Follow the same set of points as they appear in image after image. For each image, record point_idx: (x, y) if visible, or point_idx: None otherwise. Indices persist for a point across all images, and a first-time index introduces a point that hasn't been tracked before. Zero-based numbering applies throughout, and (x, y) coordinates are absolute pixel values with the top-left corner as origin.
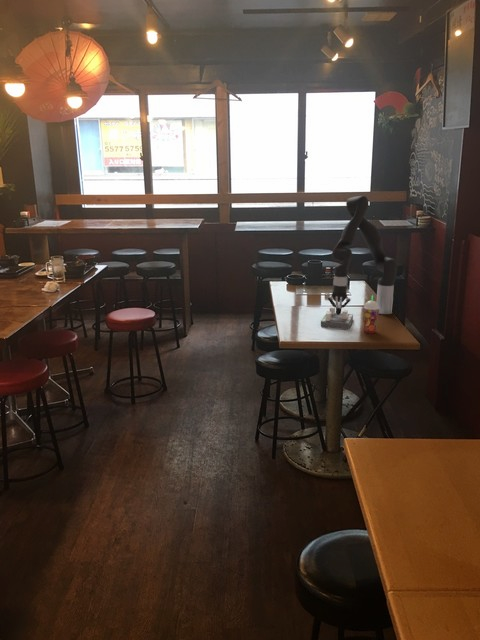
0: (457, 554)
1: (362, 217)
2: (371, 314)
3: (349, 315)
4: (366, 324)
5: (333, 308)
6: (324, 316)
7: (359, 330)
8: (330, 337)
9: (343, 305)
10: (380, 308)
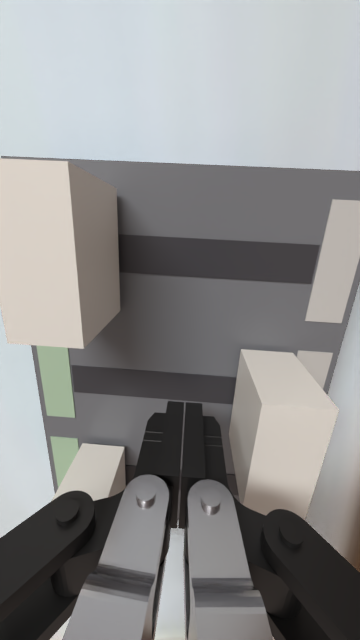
0: None
1: None
2: None
3: (325, 252)
4: None
5: (77, 346)
6: (38, 372)
7: (357, 493)
8: (175, 608)
9: (283, 631)
10: None
